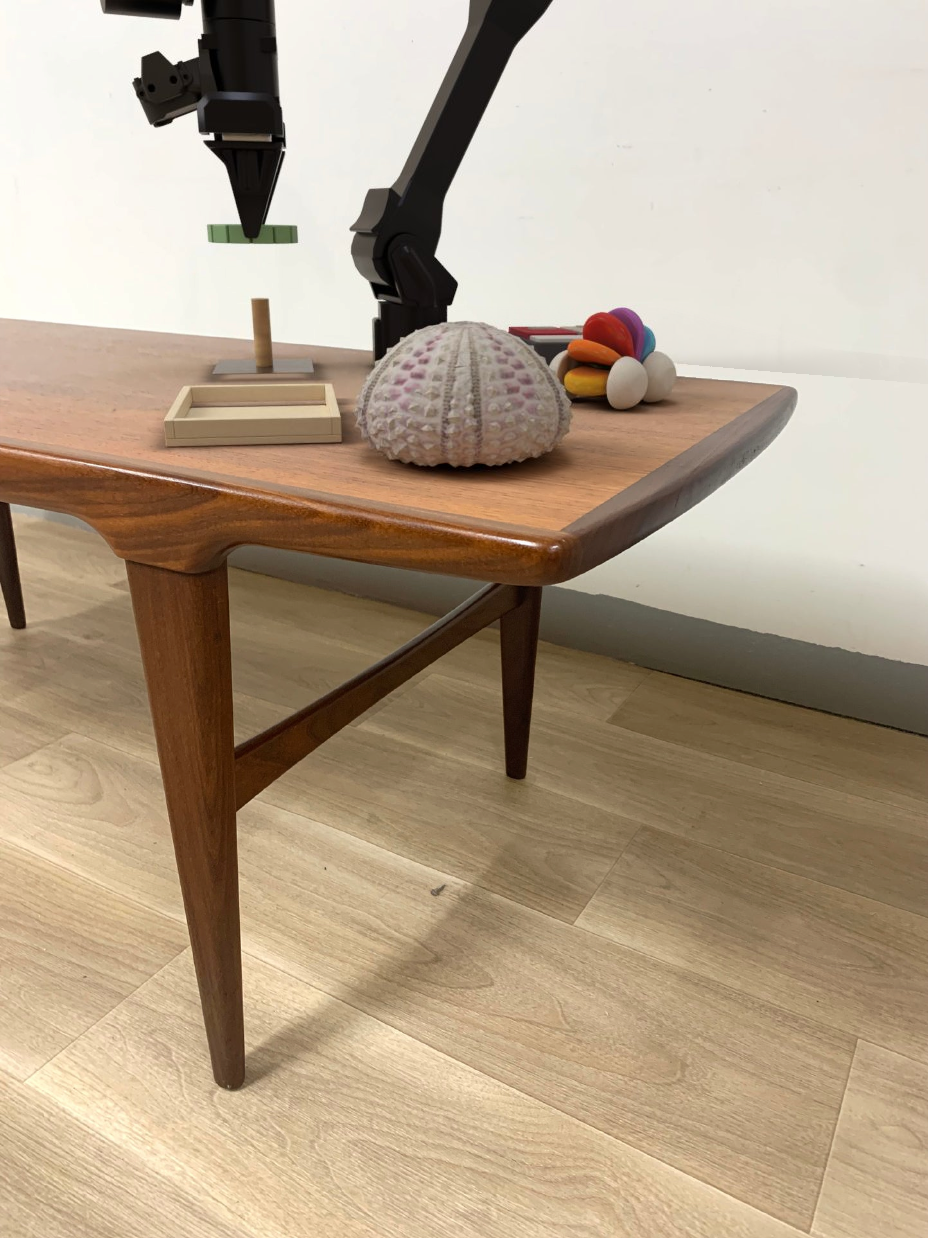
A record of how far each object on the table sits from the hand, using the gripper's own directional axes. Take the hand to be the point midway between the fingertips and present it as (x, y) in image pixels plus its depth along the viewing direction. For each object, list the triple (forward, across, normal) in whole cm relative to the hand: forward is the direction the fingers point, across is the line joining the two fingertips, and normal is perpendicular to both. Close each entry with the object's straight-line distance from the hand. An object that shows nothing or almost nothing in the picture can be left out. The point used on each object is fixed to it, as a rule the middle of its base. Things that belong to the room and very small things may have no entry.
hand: (253, 236), depth 82 cm
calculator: (+12, -1, +29) cm, 31 cm away
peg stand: (+12, -3, 0) cm, 12 cm away
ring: (0, 0, 0) cm, 0 cm away
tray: (+12, +20, 0) cm, 24 cm away
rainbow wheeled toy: (+12, +14, +28) cm, 34 cm away
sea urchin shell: (+12, +31, +14) cm, 36 cm away
